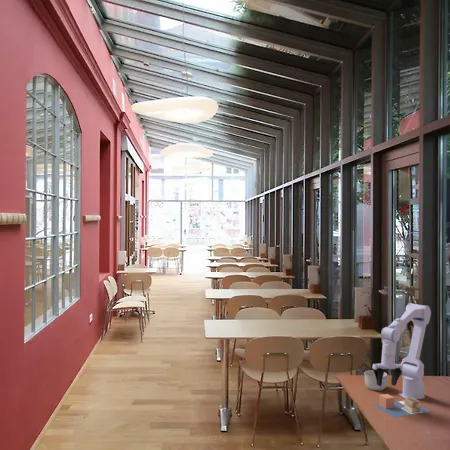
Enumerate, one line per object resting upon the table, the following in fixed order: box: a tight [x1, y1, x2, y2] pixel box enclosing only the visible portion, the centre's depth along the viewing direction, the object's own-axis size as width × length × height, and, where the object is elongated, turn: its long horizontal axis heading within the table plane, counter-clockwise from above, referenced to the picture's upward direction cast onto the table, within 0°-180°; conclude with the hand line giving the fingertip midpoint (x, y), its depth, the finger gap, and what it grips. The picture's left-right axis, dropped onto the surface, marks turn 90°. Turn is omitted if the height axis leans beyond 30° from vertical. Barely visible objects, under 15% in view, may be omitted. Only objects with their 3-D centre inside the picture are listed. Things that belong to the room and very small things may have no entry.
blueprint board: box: [373, 400, 432, 418], centre depth 213 cm, size 20×14×1 cm
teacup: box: [363, 369, 388, 392], centre depth 240 cm, size 14×11×8 cm
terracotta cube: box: [378, 393, 395, 409], centre depth 215 cm, size 4×4×4 cm
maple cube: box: [403, 398, 421, 413], centre depth 211 cm, size 4×4×4 cm
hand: (386, 385), depth 215 cm, fingers open, 7 cm apart
